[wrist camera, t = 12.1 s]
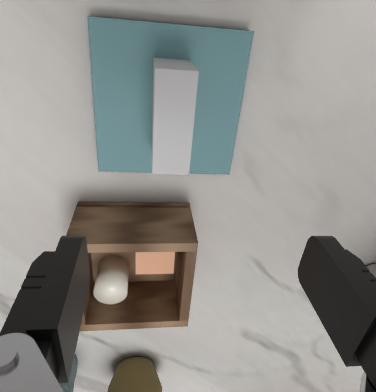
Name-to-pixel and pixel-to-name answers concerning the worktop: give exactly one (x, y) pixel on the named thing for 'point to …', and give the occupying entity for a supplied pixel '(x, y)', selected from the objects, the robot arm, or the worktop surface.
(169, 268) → the peach cube
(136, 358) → the squeeze bottle
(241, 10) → the worktop surface
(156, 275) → the walnut box
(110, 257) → the cream cylinder
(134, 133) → the lid
